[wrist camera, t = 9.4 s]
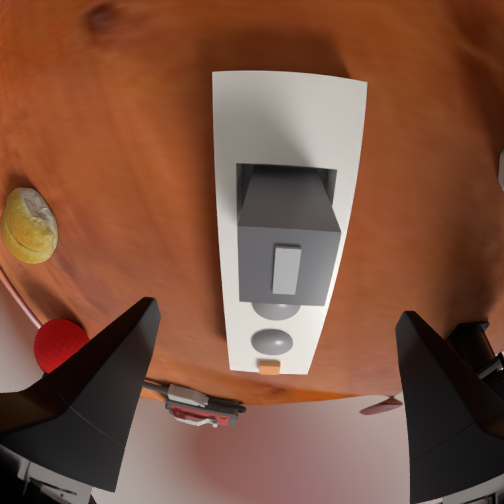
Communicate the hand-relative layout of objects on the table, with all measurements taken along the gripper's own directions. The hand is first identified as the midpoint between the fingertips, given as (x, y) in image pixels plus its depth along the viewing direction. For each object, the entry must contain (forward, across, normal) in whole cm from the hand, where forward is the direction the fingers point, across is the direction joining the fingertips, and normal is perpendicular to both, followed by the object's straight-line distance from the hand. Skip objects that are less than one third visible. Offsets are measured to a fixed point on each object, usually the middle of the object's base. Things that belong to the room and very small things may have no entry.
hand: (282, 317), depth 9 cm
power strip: (+11, 0, +5) cm, 12 cm away
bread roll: (+12, +26, +3) cm, 28 cm away
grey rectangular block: (+11, 0, 0) cm, 11 cm away
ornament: (+12, +27, +20) cm, 35 cm away
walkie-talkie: (+12, +13, +35) cm, 39 cm away
